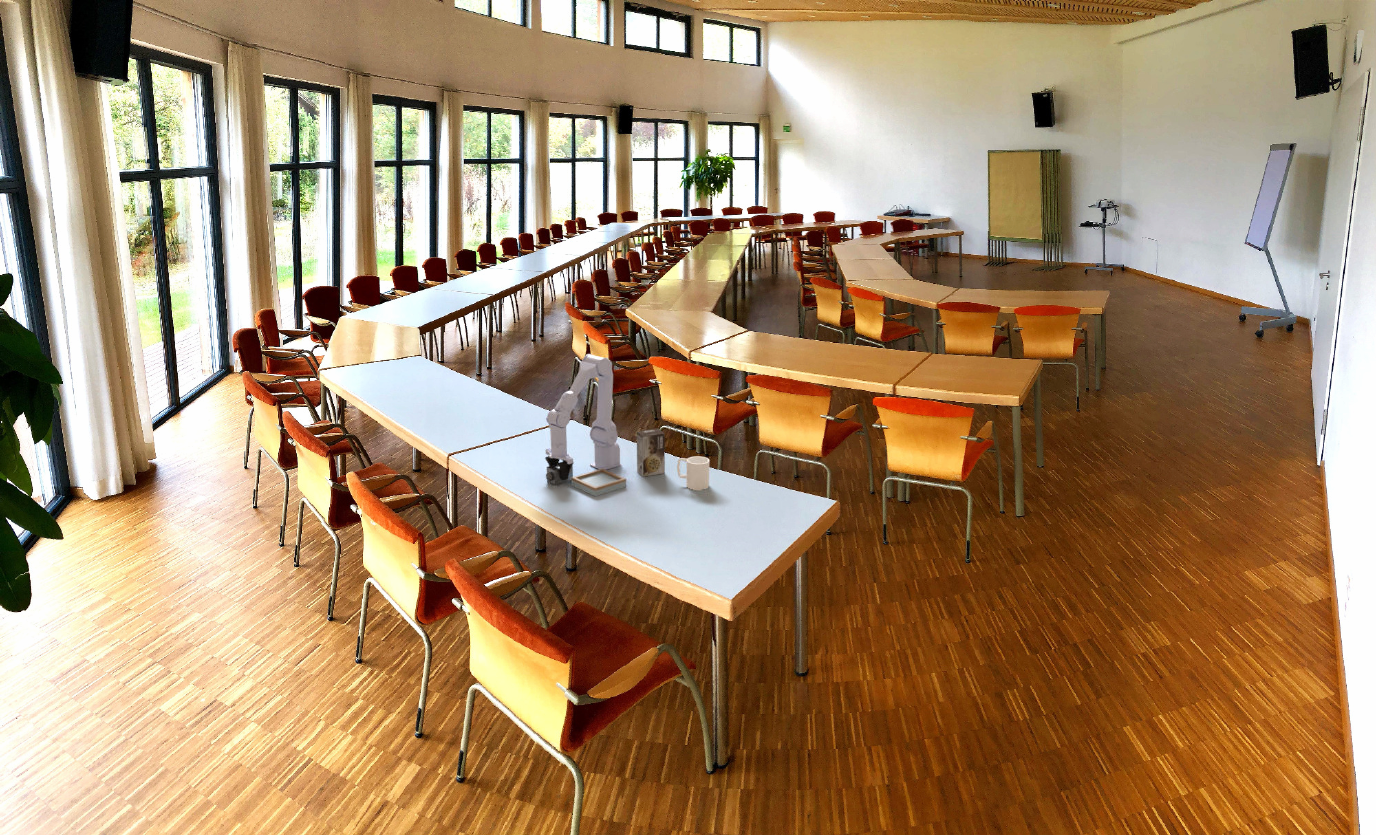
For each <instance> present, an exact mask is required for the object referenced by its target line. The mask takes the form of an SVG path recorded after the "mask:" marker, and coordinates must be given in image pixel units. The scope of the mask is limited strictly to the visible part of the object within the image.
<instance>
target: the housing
mask: <svg viewBox="0 0 1376 835" xmlns="http://www.w3.org/2000/svg"><path fill="white" fill-rule="evenodd" d="M572 477H574V467H573V465H572V467H571V469H570V472H569V476H568V479H567V480H562V477H561V471H560V467H559V465H558V464H556V465H552V466H549V465H548V466H546V473H545V478H546V481H547V483H548V484H549V485H552V486H554V487H556V486H559V485H563V484H566V483H570V482H572Z"/></svg>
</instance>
